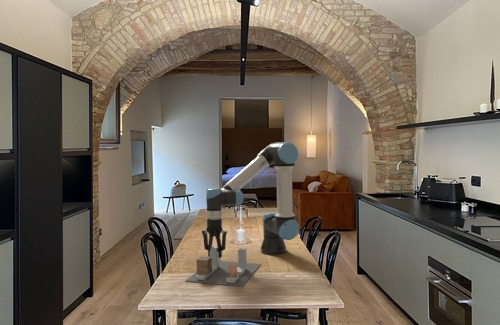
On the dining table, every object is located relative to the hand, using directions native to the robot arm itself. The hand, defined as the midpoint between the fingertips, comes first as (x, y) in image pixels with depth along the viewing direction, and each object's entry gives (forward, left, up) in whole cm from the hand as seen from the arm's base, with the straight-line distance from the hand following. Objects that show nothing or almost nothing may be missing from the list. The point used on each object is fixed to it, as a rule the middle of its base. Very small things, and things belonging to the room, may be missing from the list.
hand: (215, 263), depth 192 cm
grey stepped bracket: (+9, 0, -3) cm, 9 cm away
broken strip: (+9, +15, -3) cm, 18 cm away
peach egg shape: (+15, +15, 0) cm, 21 cm away
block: (+14, 0, 0) cm, 14 cm away
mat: (+5, +8, -3) cm, 9 cm away
